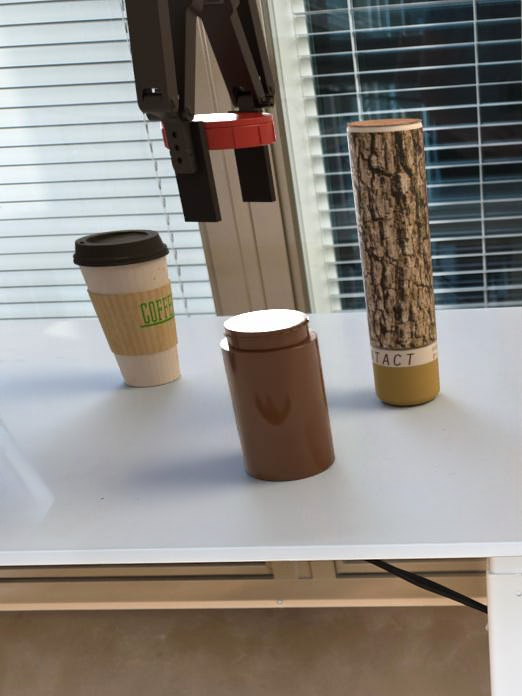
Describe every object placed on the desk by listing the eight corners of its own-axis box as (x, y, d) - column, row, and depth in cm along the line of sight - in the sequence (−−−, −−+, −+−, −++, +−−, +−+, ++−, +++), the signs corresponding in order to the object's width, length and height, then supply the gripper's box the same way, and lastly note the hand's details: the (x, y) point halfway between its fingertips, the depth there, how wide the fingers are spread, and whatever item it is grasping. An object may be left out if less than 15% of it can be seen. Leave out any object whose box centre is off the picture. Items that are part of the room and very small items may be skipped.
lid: (240, 136, 72) (236, 111, 71) (297, 141, 67) (293, 114, 66) (145, 147, 68) (139, 120, 67) (199, 153, 63) (194, 124, 62)
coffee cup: (209, 379, 101) (177, 236, 92) (122, 398, 96) (80, 251, 88) (180, 359, 107) (149, 224, 99) (98, 376, 103) (57, 237, 94)
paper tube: (404, 382, 97) (380, 118, 83) (453, 392, 93) (437, 118, 79) (362, 401, 92) (329, 125, 78) (413, 412, 89) (388, 126, 75)
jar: (243, 485, 76) (212, 338, 69) (247, 450, 83) (219, 312, 76) (336, 475, 77) (315, 329, 70) (333, 441, 84) (314, 304, 76)
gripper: (116, -214, 48) (205, 238, 61) (289, -156, 64) (330, 190, 77) (2, -200, 50) (112, 236, 63) (198, -147, 66) (253, 189, 79)
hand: (232, 210), depth 70 cm, fingers closed on lid, 8 cm apart
